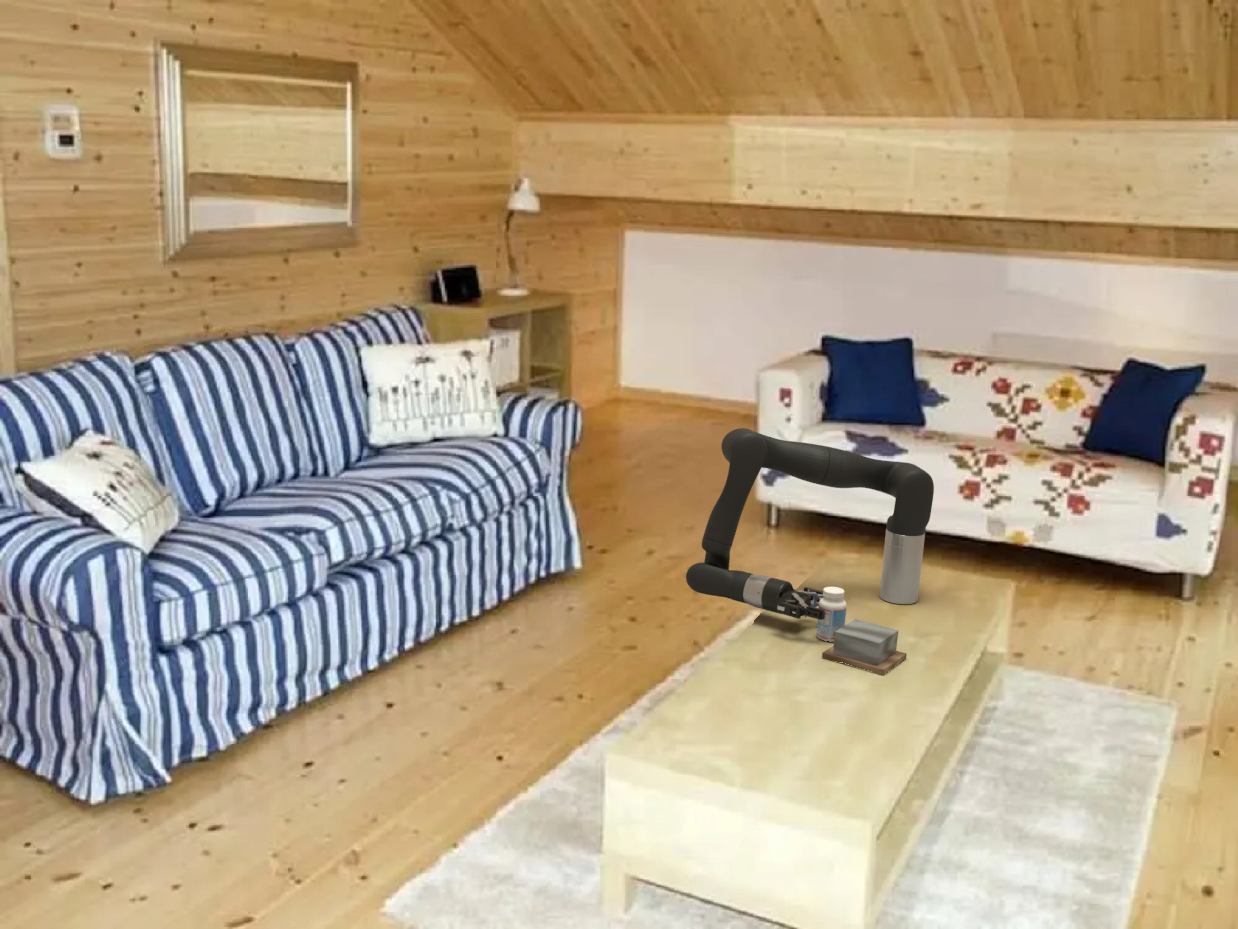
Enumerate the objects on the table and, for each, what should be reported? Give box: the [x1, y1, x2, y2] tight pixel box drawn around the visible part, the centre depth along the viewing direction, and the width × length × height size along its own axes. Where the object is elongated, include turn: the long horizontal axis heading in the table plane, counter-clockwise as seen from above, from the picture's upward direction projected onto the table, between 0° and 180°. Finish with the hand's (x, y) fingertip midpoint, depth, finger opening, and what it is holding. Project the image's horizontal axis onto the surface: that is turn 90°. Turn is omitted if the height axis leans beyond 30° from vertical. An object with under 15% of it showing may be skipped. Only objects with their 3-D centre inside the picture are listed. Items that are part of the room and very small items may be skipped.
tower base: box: [821, 618, 908, 676], centre depth 270 cm, size 12×14×6 cm
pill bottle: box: [816, 586, 847, 643], centre depth 280 cm, size 6×6×11 cm
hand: (832, 610), depth 280 cm, fingers open, 8 cm apart
